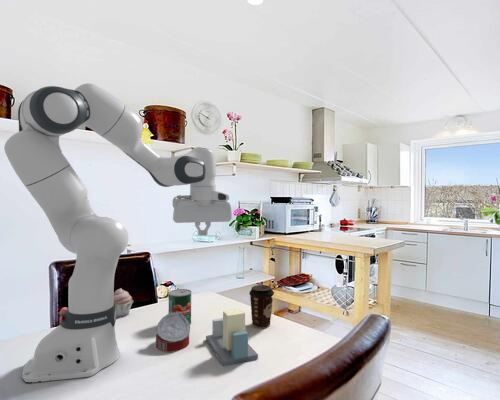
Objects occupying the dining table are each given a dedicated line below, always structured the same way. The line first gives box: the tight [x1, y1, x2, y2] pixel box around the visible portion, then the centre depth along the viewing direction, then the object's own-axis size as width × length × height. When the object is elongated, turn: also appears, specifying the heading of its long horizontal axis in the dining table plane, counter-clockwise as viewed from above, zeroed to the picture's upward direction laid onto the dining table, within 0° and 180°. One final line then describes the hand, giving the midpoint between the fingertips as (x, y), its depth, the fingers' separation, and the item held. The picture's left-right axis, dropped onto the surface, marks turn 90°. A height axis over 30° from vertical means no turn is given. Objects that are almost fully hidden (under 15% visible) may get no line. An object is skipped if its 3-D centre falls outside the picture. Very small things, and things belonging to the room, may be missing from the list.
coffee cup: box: [248, 284, 275, 329], centre depth 112 cm, size 9×8×13 cm
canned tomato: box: [168, 288, 192, 326], centre depth 113 cm, size 8×8×11 cm
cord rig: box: [205, 317, 259, 367], centre depth 94 cm, size 10×17×8 cm, turn 23°
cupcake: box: [114, 287, 134, 318], centre depth 121 cm, size 9×9×10 cm
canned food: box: [155, 312, 191, 353], centre depth 97 cm, size 11×10×10 cm
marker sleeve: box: [222, 308, 246, 350], centre depth 91 cm, size 5×4×10 cm
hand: (202, 235), depth 111 cm, fingers closed
